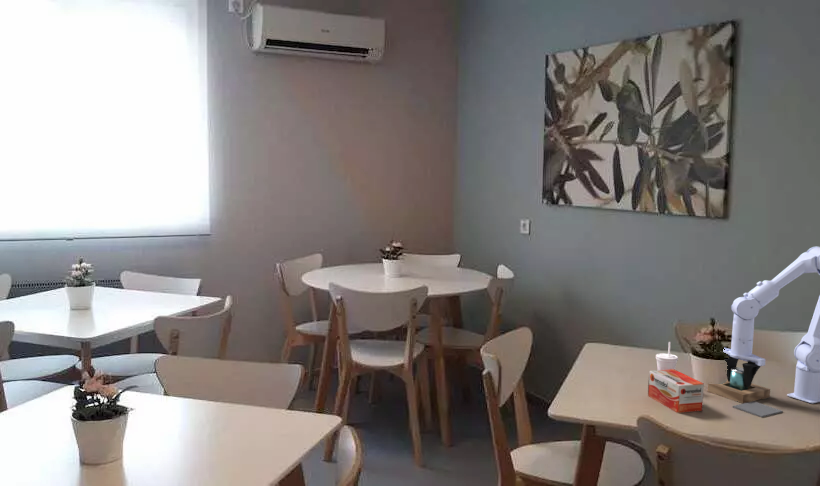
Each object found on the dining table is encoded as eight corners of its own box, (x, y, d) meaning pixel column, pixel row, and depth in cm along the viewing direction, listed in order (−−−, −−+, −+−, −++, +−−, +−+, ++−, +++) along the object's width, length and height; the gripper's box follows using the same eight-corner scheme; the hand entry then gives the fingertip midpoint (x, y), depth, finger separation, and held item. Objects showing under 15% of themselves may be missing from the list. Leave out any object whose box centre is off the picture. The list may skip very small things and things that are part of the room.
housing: (734, 385, 230) (734, 378, 230) (769, 397, 220) (770, 389, 220) (707, 391, 225) (708, 383, 224) (742, 403, 214) (743, 394, 214)
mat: (753, 402, 215) (753, 401, 215) (782, 412, 207) (782, 410, 207) (732, 407, 211) (732, 405, 211) (761, 417, 203) (761, 415, 203)
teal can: (736, 390, 226) (738, 366, 225) (751, 395, 221) (753, 370, 220) (725, 393, 223) (727, 368, 222) (740, 398, 219) (741, 372, 218)
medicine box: (646, 396, 219) (648, 369, 218) (671, 394, 221) (673, 368, 220) (677, 414, 205) (679, 385, 204) (703, 412, 207) (705, 383, 206)
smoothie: (677, 391, 224) (680, 345, 222) (655, 389, 225) (657, 343, 224) (674, 385, 230) (677, 340, 229) (652, 383, 232) (655, 338, 230)
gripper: (712, 334, 225) (709, 378, 226) (755, 345, 212) (751, 392, 214) (728, 332, 228) (724, 375, 230) (771, 343, 216) (767, 389, 217)
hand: (739, 383), depth 222 cm, fingers closed on teal can, 5 cm apart
